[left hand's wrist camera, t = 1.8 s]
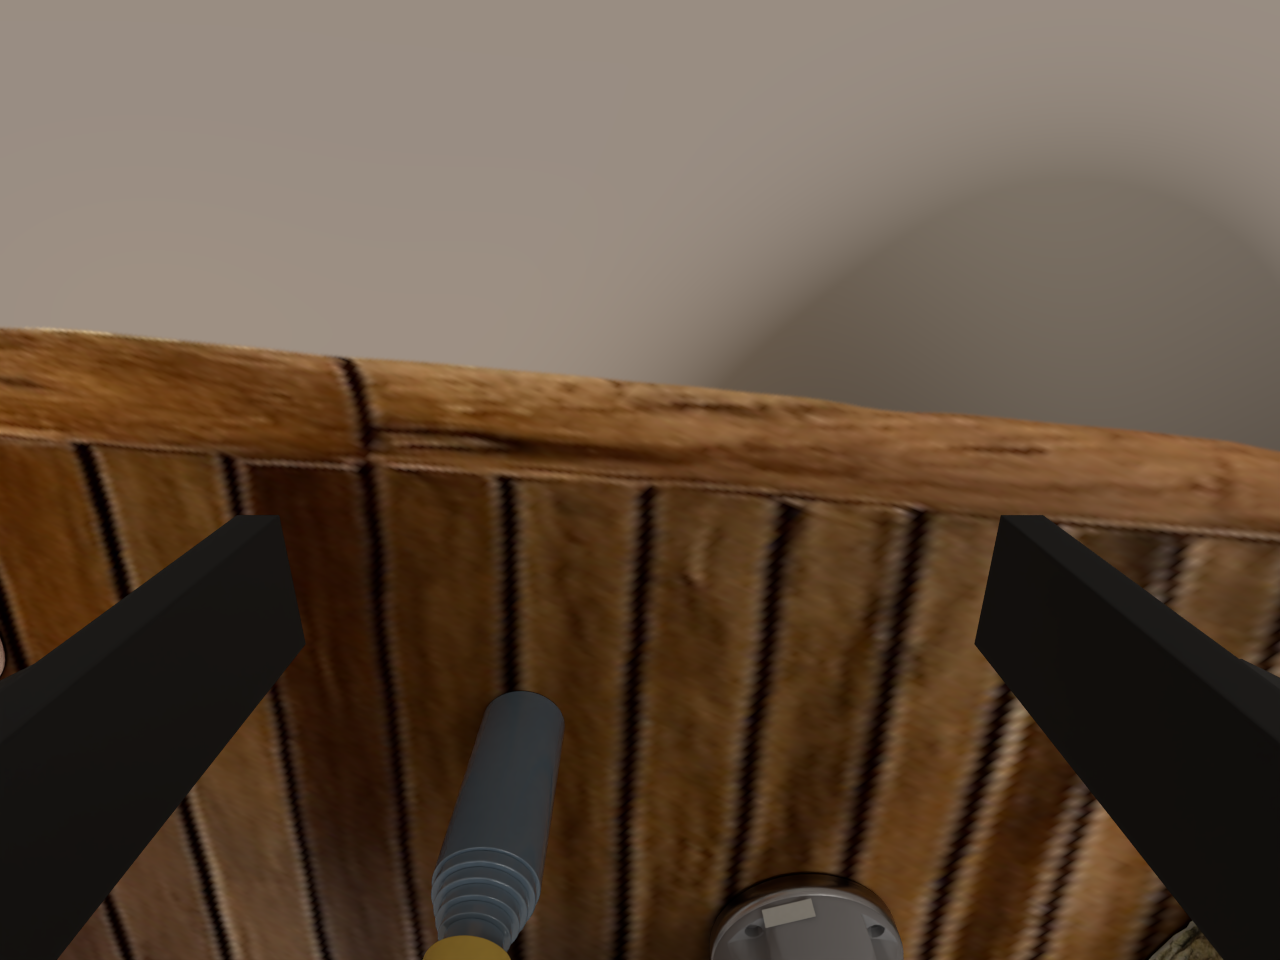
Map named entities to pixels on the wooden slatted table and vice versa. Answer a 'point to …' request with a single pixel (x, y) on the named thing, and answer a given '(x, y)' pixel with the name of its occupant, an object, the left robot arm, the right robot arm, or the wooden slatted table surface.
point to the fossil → (1187, 946)
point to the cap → (465, 949)
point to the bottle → (500, 822)
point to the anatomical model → (2, 657)
